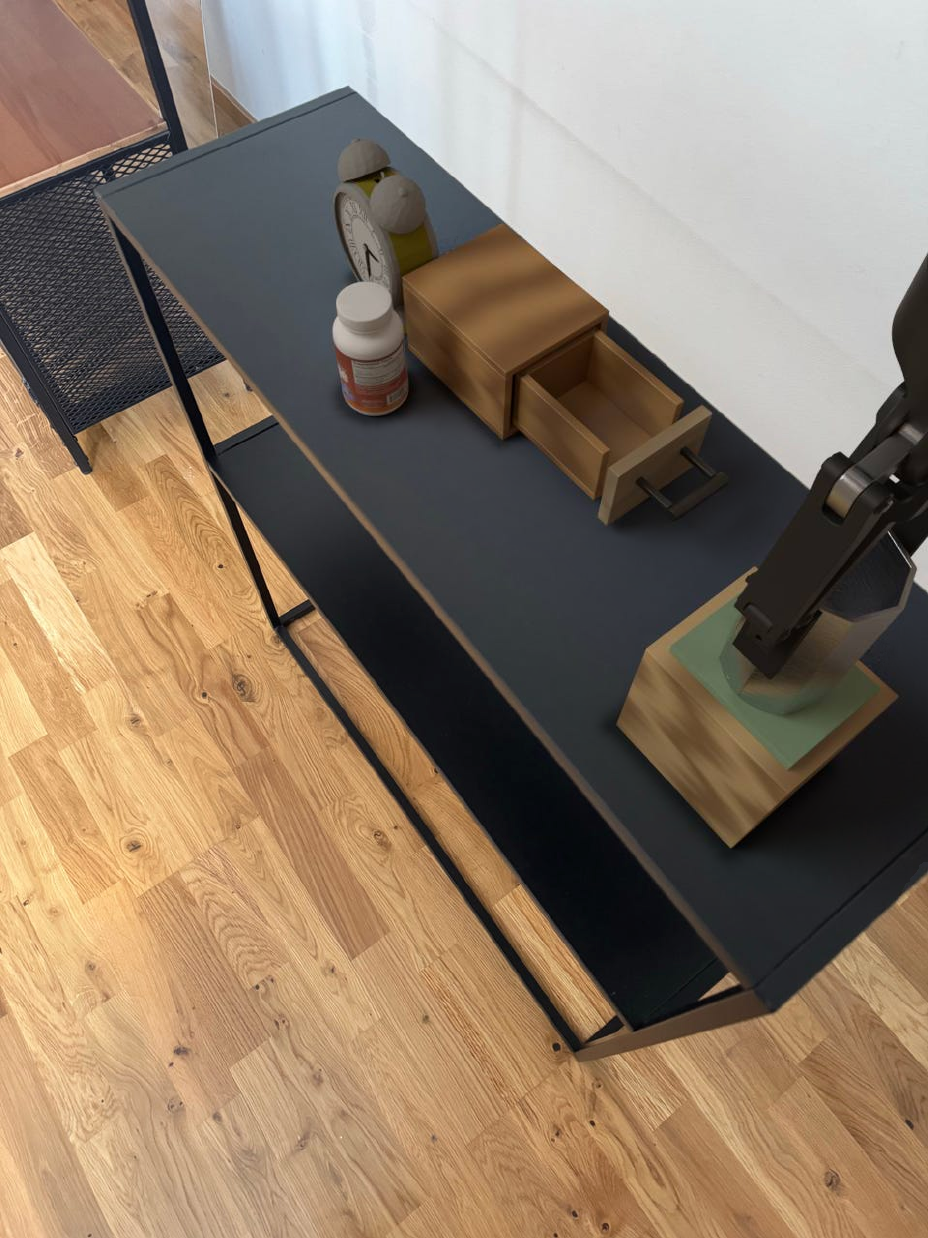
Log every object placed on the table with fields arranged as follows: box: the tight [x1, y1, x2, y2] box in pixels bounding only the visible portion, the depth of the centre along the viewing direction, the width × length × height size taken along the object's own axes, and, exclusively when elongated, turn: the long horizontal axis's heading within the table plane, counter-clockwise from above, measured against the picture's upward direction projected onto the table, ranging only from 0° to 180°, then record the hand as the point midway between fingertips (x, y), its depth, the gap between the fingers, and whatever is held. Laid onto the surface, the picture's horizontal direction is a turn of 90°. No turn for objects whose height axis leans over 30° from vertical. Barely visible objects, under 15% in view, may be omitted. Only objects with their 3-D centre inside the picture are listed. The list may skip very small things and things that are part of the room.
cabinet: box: [402, 222, 610, 441], centre depth 81 cm, size 15×12×9 cm
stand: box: [615, 566, 900, 849], centre depth 61 cm, size 12×10×13 cm
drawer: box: [513, 326, 730, 527], centre depth 75 cm, size 18×10×7 cm, turn 38°
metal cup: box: [719, 528, 918, 715], centre depth 49 cm, size 6×6×12 cm
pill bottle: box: [332, 281, 409, 417], centre depth 78 cm, size 6×6×11 cm
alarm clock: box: [332, 137, 440, 335], centre depth 83 cm, size 12×7×15 cm, turn 33°
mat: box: [669, 590, 881, 770], centre depth 55 cm, size 10×8×1 cm
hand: (814, 610), depth 48 cm, fingers open, 8 cm apart
